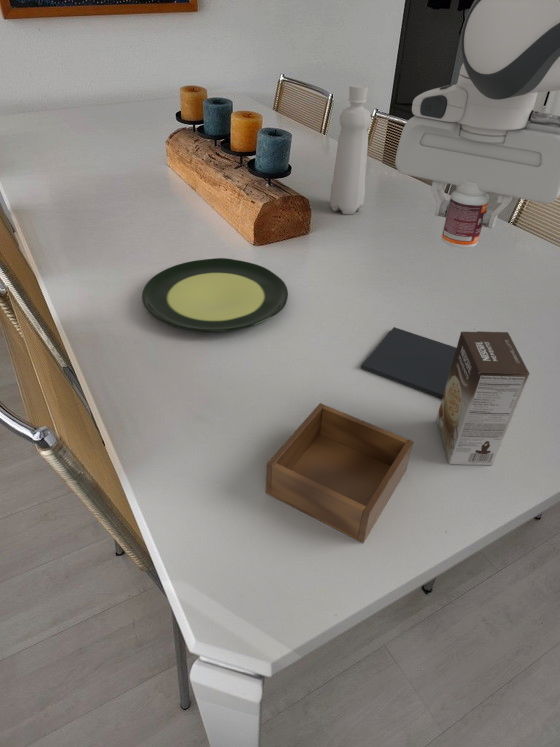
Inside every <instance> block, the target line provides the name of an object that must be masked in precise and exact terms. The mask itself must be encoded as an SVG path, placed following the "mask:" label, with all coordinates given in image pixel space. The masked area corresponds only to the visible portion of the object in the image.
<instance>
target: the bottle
mask: <svg viewBox="0 0 560 747" xmlns="http://www.w3.org/2000/svg"><path fill="white" fill-rule="evenodd" d="M348 89H349V90H348V92H349V96H348V98H349V99H347V101H348V102H349V104H350V106H348V107H346V108H344V109H343V110H342V111H341V114H340V115H339V126H340V130H339V131H340V132H339V135H338V138H337V139H338V140H337V147H336V155H335V161H334V170H333V177H332V182H331V185H330V197H329V198H330V199H329V206H330V207H331V209H332V211H333V212H338V211H339V212H340V211H341V213H342V214H343V215H354V214H355V213H356V212H360V211H361V210H362V208H364V203H365V195H366V174H367V161H368V160H367V159H368V149H369V130H368V129H369V128H370V127H371V124H372V120H373V119H372V116H371V112H370V110H368V109H366V108H365V107H364V105H365V104H366V102H368V101H367V96H368V92H369V86H368V85H366V84H360V83H355V84H349V88H348ZM333 208H334V209H333Z"/></svg>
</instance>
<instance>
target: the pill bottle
mask: <svg viewBox="0 0 560 747" xmlns="http://www.w3.org/2000/svg"><path fill="white" fill-rule="evenodd" d="M448 201H449V206H448V210H447V214H446V218H445V219H444V224H443V229H442V232H441V241H442V242H443V243H444V244H446V245H448V246H450V247H454V248H458V249H471V248H474V247H475V246H477V245H478V242H479V239H480V235H481V232H482V228H483V226H481V222H482V221H483V219H482V218H483V215H484V213H485V212H486V210H487V209H488V206H489V202H490V196H489V192H486V191H481V190H479V189H478V186H477V184H475V183H471V182H463V184H462V185H461V186H457V185H455V189H454V190H453V191H452V192H451V193H450V198H449V200H448Z"/></svg>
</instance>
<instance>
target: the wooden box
mask: <svg viewBox="0 0 560 747" xmlns="http://www.w3.org/2000/svg"><path fill="white" fill-rule="evenodd" d="M413 446H414V441H413V440H410V439H408V438H406V437H404V436H401V435H398V434H396V433H394V432H391V431H389V430H386V429H384V428H381V427H380V426H376V425H374V424H372V423H369V422H367V421H365V420H362V419H360V418H358V417H355V416H353V415H350V414H348V413H345V412H343V411H341V410H338V409H336V408H334V407H331V406H328V405H326V404H324V403H322V402H320V403H319V404H318V405H317V406H316V407H315V408H314V409H313V411H311V413H310V414H309V415H308V416H307V417H306V419H304V420H303V422H302V423H301V424H300V425H299V426H298V427H297V428H296V429H295V431H294V432H293V433H292V434H291V435H290V436H289V438H288V439H287V440H286V441H285V442H284V443H283V445H281V447H280V448H278V450H277V451H276V452H275V453H274V455H273V456H272V457H271V458H270V459H269V460H268V462H267V463H266V467H265V468H266V469H265V470H266V471H265V473H266V474H265V494H266V495H269V496H270V497H273V498H274V499H276V500H278V501H280V502H282V503H284V504H286V505H288V506H290V507H292V508H294V509H296V510H298V511H299V512H301V513H304V514H305V515H307V516H309V517H311V518H313V519H315V520H317V521H319V522H321V523H323V524H325V525H327V526H329V527H331V528H332V529H335V530H336V531H339V532H340V533H342V534H344V535H346V536H348V537H350V538H351V539H353V540H356V541H358V542H360V543H362V544H364V543H365V542H366V539H367V538H368V537H369V535H370V533H371V532H372V530H373V528H374V526H375V525H376V522H377V521H378V519H379V518H380V516H381V515H382V513H383V512H384V509H385V507H386V506H387V504H388V502H389V501H390V499H391V497H392V496H393V495H394V493H395V490H396V489H397V487H398V485H399V484H400V482H401V480H402V478H403V477H404V476H405V474H406V472H407V470H408V465H409V461H410V457H411V454H412V450H413Z"/></svg>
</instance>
